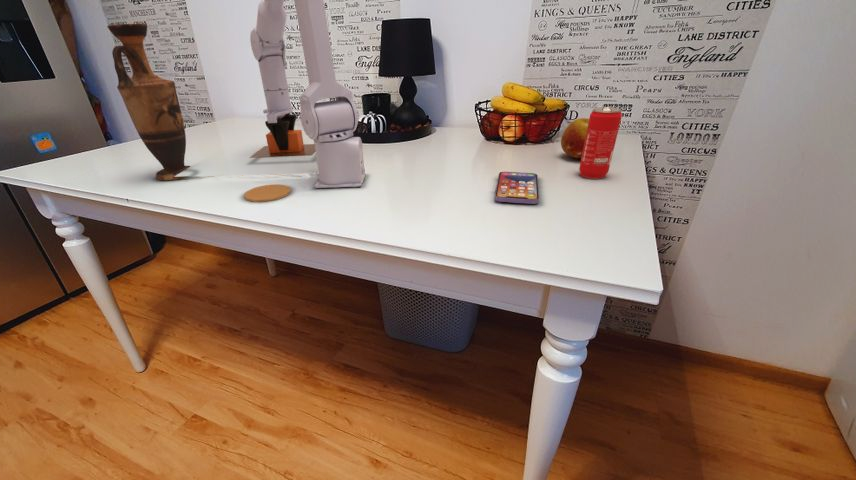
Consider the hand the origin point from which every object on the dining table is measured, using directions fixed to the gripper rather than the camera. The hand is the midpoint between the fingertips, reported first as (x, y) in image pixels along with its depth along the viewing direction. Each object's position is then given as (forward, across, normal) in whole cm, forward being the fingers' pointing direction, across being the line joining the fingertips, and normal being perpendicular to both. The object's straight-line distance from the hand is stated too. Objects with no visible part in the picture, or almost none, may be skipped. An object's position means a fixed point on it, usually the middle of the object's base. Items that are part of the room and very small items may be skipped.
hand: (286, 147), depth 103 cm
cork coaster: (+2, +29, +4) cm, 29 cm away
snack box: (+1, 0, 0) cm, 1 cm away
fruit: (+2, +11, +70) cm, 71 cm away
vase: (+2, +14, -23) cm, 27 cm away
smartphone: (+2, +31, +52) cm, 61 cm away
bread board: (+2, 0, 0) cm, 2 cm away
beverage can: (+2, +24, +68) cm, 72 cm away
